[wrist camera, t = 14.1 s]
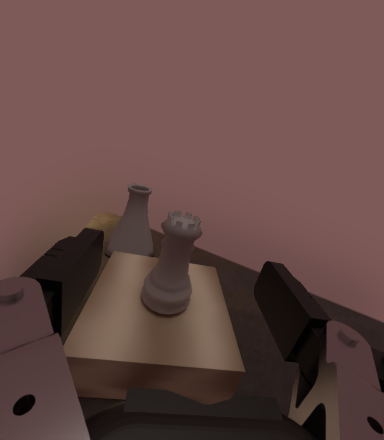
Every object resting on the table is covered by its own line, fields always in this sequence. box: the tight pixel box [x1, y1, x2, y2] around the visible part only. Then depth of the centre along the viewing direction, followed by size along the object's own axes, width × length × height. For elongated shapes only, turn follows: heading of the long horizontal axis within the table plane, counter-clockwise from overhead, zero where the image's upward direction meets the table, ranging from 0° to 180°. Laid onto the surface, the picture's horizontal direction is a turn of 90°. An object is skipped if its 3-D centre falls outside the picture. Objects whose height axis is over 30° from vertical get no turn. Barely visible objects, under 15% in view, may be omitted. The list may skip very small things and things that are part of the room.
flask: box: [105, 184, 154, 257], centre depth 30 cm, size 7×7×10 cm
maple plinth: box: [63, 251, 245, 405], centre depth 20 cm, size 12×12×4 cm
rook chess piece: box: [141, 211, 202, 315], centre depth 17 cm, size 4×4×8 cm
